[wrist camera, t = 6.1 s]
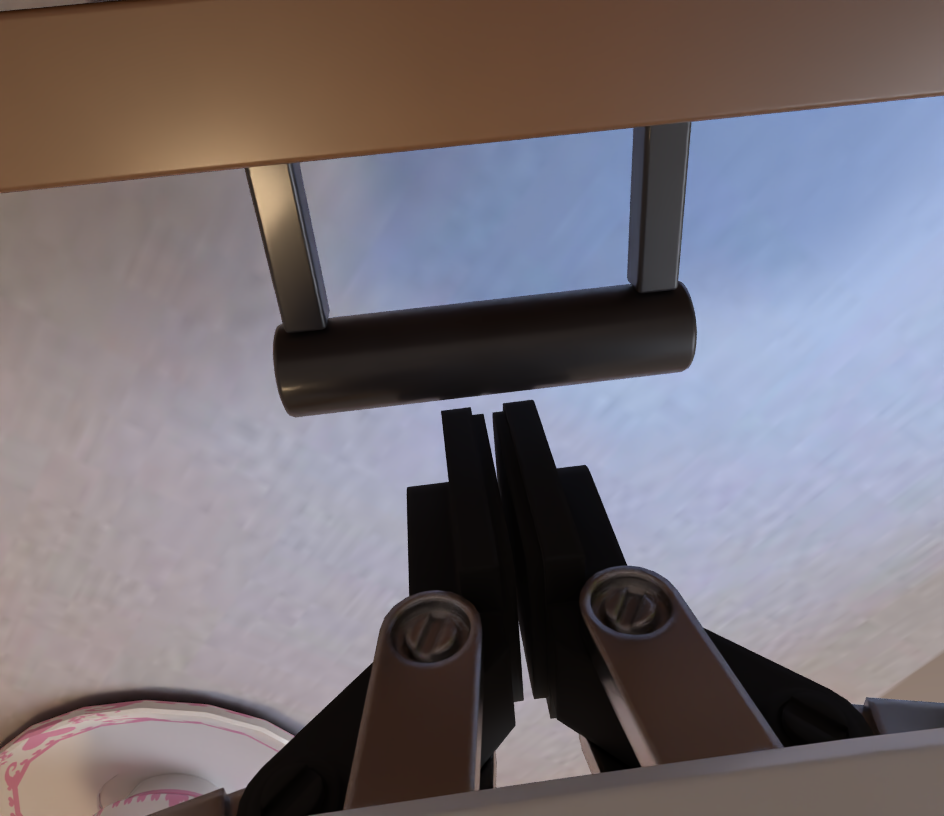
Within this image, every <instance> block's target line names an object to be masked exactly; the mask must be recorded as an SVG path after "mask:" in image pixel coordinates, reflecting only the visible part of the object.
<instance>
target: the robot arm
mask: <svg viewBox="0 0 944 816" xmlns="http://www.w3.org/2000/svg"><path fill="white" fill-rule="evenodd" d="M441 415H442V424H443V433H444V442H445V451H446V460H447V470H448V479H449V482H445V483H437V484H429V485H420V486H412V487H407V525H408V564H409V597H407V598H405V599H404V600H402V601H401V602H399V603H398V604H396V605H395V606H394V607H393V608H392V609H391V610H390V612H389V613H388V614H387V615H386V616H385V618H384V621H383V623H382V626H381V628H380V631H379V636H378V641H377V646H376V651H375V656H374V661H373V663H372V664H371V665H370V666H368V667H367V668H366V669H365V670H364V671H363V672H362V673H361V674H360V675H359V676H358V677H357V678H356V679H355V680H354V681H353V682H352V683H351V684H349V685H348V686H347V687H346V688H345V689H344V690H343V691H342V692H341V693H340V694H339V695H338V696H337V697H336V698H335V699H334V700H333V701H332V702H330V703H329V704H328V705H327V706H326V707H325V708H324V709H323V710H322V711H321V712H320V713H319V714H318V715H317V716H316V717H315V718H314V719H313V720H311V721H310V722H309V723H308V724H307V725H306V726H305V727H304V728H303V729H302V730H301V731H300V732H299V733H298V734H297V735H296V736H295V737H294V738H292V739H291V740H290V741H289V742H288V743H287V744H286V745H285V746H284V747H283V748H282V749H281V750H280V751H279V752H278V753H277V754H276V755H275V756H273V757H272V758H271V759H270V760H269V761H268V762H267V763H266V764H265V765H264V766H263V767H262V768H261V769H260V770H259V771H258V773H257V774H256V775H255V776H254V777H253V778H252V780H251V781H250V782H249V783H248V785H247V787H246V788H243V789H240V790H238V791H235V792H232V793H230V794H227V793H226V791H225V789H224V787H223V788H220V789H218V790H215V791H212V792H209V793H207V794H204V795H201V796H198V797H196V798H193V799H190V800H187V801H185V802H182V803H179V804H176V805H174V806H171V807H168V808H165V809H163V810H160V811H157V812H155V813H152V814H149V815H146V816H944V703H935V702H922V701H908V700H895V699H881V698H868V697H866V700H865V703H864V705H855V704H851V703H850V702H849V701H848V700H846V699H845V698H843V697H841V696H840V695H838V694H837V693H835V692H833V691H832V690H830V689H828V688H826V687H824V686H822V685H820V684H818V683H816V682H814V681H812V680H810V679H808V678H806V677H804V676H801V675H799V674H797V673H795V672H793V671H791V670H789V669H787V668H785V667H783V666H781V665H779V664H777V663H775V662H773V661H771V660H769V659H767V658H764V657H762V656H760V655H758V654H756V653H754V652H752V651H750V650H748V649H746V648H744V647H742V646H740V645H738V644H736V643H734V642H732V641H730V640H728V639H725V638H723V637H721V636H719V635H717V634H715V633H713V632H711V631H709V630H707V629H705V628H703V627H702V626H701V624H700V623H699V621H698V620H697V618H696V617H695V615H694V614H693V612H692V611H691V609H690V608H689V606H688V605H687V603H686V602H685V601H684V599H683V598H682V596H681V595H680V593H679V592H678V590H677V589H676V588H675V587H674V586H673V585H672V584H671V583H670V582H669V581H668V580H667V579H666V578H664V577H662V576H661V575H659V574H658V573H656V572H654V571H651V570H648V569H645V568H642V567H635V566H627V564H626V561H625V559H624V556H623V554H622V551H621V549H620V546H619V544H618V541H617V539H616V536H615V534H614V531H613V529H612V526H611V524H610V521H609V519H608V516H607V514H606V511H605V509H604V506H603V503H602V501H601V498H600V496H599V493H598V491H597V488H596V486H595V483H594V481H593V478H592V476H591V473H590V471H589V469H588V467H587V466H586V465H581V466H573V467H565V468H557V469H556V466H555V463H554V460H553V457H552V454H551V451H550V448H549V445H548V442H547V439H546V436H545V433H544V430H543V427H542V424H541V421H540V418H539V415H538V412H537V409H536V406H535V403H534V400H527V401H519V402H510V403H503V411H502V412H494V413H493V430H494V442H495V455H496V468H497V477H496V472H495V467H494V462H493V458H492V453H491V448H490V443H489V438H488V433H487V428H486V424H485V419H484V414H477V415H472V412H471V407H469V408H461V409H453V410H444V411H441ZM497 480H498V482H497ZM518 621H519V623H518ZM519 626H520V631H521V636H522V641H523V647H524V652H525V657H526V662H527V667H528V672H529V677H530V683H531V688H532V693H533V697H534V699H539V698H546V699H547V704H548V709H549V713H550V718H557V720H559V721H560V722H562V723H563V724H565V725H566V726H568V727H569V728H571V729H573V730H574V731H576V732H577V733H579V739H580V744H581V748H582V751H583V754H584V756H585V759H586V761H587V763H588V766H589V768H590V771H591V773H592V774H590V775H583V776H576V777H569V778H562V779H555V780H548V781H541V782H534V783H527V784H520V785H513V786H506V787H499V788H496V771H497V760H496V751H495V750H496V749H497V748H498V747H499V745H500V744H501V743H502V742H503V740H504V739H505V738H506V737H507V735H508V734H509V733H510V732H511V730H512V729H513V728H514V727H515V712H514V702H517V701H523V700H524V696H523V681H522V667H521V652H520V637H519Z"/></svg>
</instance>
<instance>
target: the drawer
mask: <svg viewBox="0 0 944 816" xmlns="http://www.w3.org/2000/svg"><path fill="white" fill-rule="evenodd" d="M935 96H944V0H117V1H107V2H96V3H85V4H75V5H64V6H53V7H42V8H32V9H21V10H10V11H0V193H8V192H18V191H28V190H37V189H47V188H57V187H66V186H76V185H86V184H95V183H105V182H114V181H124V180H134V179H143V178H153V177H163V176H172V175H182V174H192V173H201V172H211V171H221V170H230V169H240V168H244V169H245V173H246V177H247V181H248V185H249V189H250V193H251V197H252V201H253V205H254V209H255V213H256V217H257V221H258V225H259V229H260V233H261V237H262V241H263V245H264V250H265V254H266V258H267V262H268V266H269V270H270V274H271V278H272V282H273V286H274V290H275V294H276V298H277V302H278V306H279V310H280V314H281V318H282V322H283V323H282V324H281V325H279V326H277V328H276V330H275V335H274V341H273V362H274V371H275V378H276V383H277V388H278V392H279V395H280V398H281V401H282V404H283V406H284V408H285V410H286V412H287V413H288V414H289V415H290V416H293V417H303V416H311V415H320V414H328V413H337V412H345V411H354V410H362V409H371V408H379V407H387V406H396V405H404V404H413V403H421V402H430V401H438V400H447V399H455V398H464V397H472V396H481V395H489V394H498V393H506V392H515V391H523V390H532V389H540V388H549V387H557V386H565V385H574V384H582V383H591V382H599V381H608V380H616V379H625V378H633V377H642V376H650V375H659V374H667V373H676V372H682V371H684V370H686V369H687V368H689V366H690V365H691V363H692V361H693V358H694V355H695V349H696V339H697V327H696V317H695V311H694V307H693V303H692V300H691V297H690V294H689V292H688V290H687V288H686V287H685V285H684V284H683V283H682V282H680V281H678V275H679V263H680V251H681V240H682V228H683V216H684V204H685V192H686V180H687V168H688V156H689V144H690V133H691V122H693V121H703V120H713V119H722V118H732V117H742V116H751V115H761V114H771V113H780V112H790V111H800V110H809V109H819V108H829V107H838V106H848V105H858V104H867V103H877V102H886V101H896V100H906V99H915V98H925V97H935ZM626 128H634V129H633V152H632V176H631V199H630V223H629V246H628V270H627V278H628V281H629V282H630V283H631V284H626V285H617V286H609V287H600V288H591V289H582V290H573V291H564V292H555V293H546V294H537V295H529V296H520V297H511V298H502V299H493V300H484V301H475V302H466V303H458V304H449V305H440V306H431V307H422V308H413V309H404V310H395V311H386V312H378V313H369V314H360V315H351V316H342V317H333V318H328V317H329V311H330V310H329V305H328V301H327V296H326V291H325V286H324V281H323V276H322V271H321V266H320V262H319V257H318V252H317V247H316V242H315V237H314V232H313V228H312V223H311V218H310V213H309V208H308V203H307V198H306V193H305V189H304V184H303V179H302V174H301V169H300V164H299V162H307V161H317V160H327V159H336V158H346V157H356V156H365V155H375V154H385V153H394V152H404V151H414V150H423V149H433V148H443V147H452V146H462V145H472V144H481V143H491V142H500V141H510V140H520V139H529V138H539V137H549V136H558V135H568V134H578V133H587V132H597V131H607V130H616V129H626Z"/></svg>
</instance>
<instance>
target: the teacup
mask: <svg viewBox="0 0 944 816" xmlns="http://www.w3.org/2000/svg"><path fill="white" fill-rule="evenodd" d="M294 737H295V736H294V735H292V734H290V733H288V732H286V731H285V730H283V729H281V728H279V727H277V726H275V725H274V724H272V723H270V722H268V721H266V720H264V719H260V718H256V717H253V716H249V715H246V714H242V713H238V712H235V711H231V710H227V709H224V708H220V707H216V706H213V705H209V704H196V703H182V702H169V701H155V700H140V701H131V702H123V703H114V704H106V705H97V706H89V707H82V708H79V709H77V710H74V711H71V712H68V713H65V714H63V715H60V716H57V717H54V718H51V719H48V720H46V721H43V722H40V723H37V724H34V725H31V726H30V727H29V728H27V729H26V730H25V731H23V732H22V733H21V734H19V735H18V736H17V737H15V738H14V739H13V740H11V741H10V742H9V743H7V744H6V745H5V746H4V747H2V748H1V749H0V816H146V815H149V814H152V813H155V812H157V811H160V810H163V809H165V808H168V807H171V806H174V805H176V804H179V803H182V802H185V801H187V800H190V799H193V798H196V797H198V796H201V795H204V794H207V793H209V792H212V791H215V790H218V789H220V788H223V787H224V789H225V791H226V793H227V794H230V793H232V792H235V791H238V790H240V789H243V788H246V787H247V785H248V783H249V782H250V781H251V780H252V778H253V777H254V776H255V775H256V774H257V773H258V771H259V770H260V769H261V768H262V767H263V766H264V765H265V764H266V763H267V762H268V761H269V760H270V759H271V758H272V757H273V756H275V755H276V754H277V753H278V752H279V751H280V750H281V749H282V748H283V747H284V746H285V745H286V744H287V743H288V742H289V741H290V740H291V739H292V738H294Z"/></svg>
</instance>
